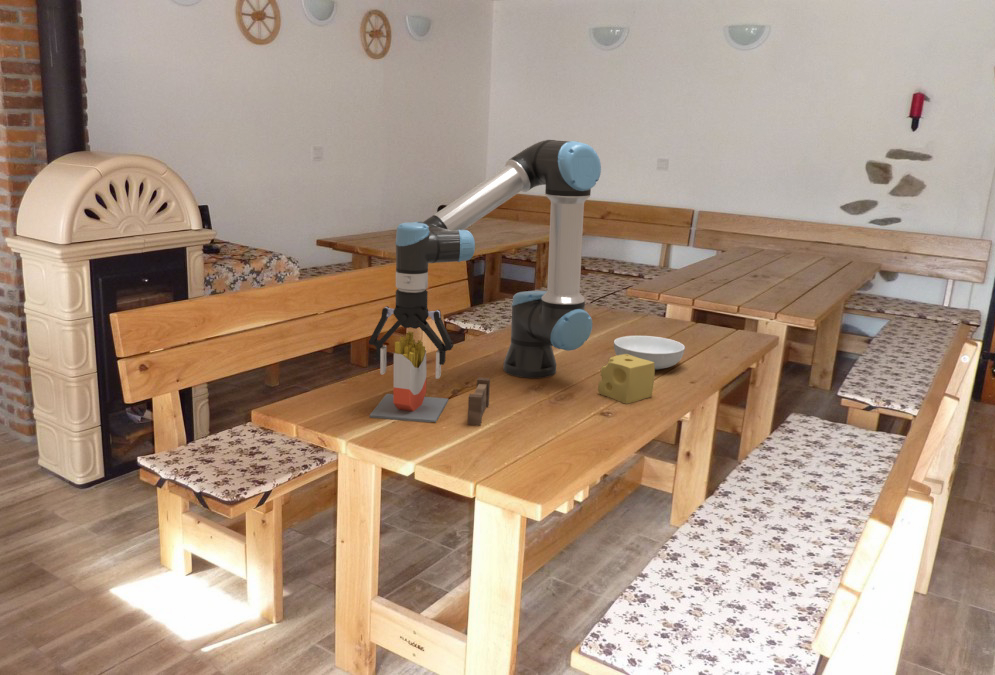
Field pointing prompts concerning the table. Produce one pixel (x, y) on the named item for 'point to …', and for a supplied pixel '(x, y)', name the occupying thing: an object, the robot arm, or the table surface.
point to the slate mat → (423, 413)
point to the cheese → (627, 378)
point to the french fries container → (409, 373)
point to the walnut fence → (478, 401)
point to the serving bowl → (651, 349)
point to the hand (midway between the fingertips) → (410, 375)
